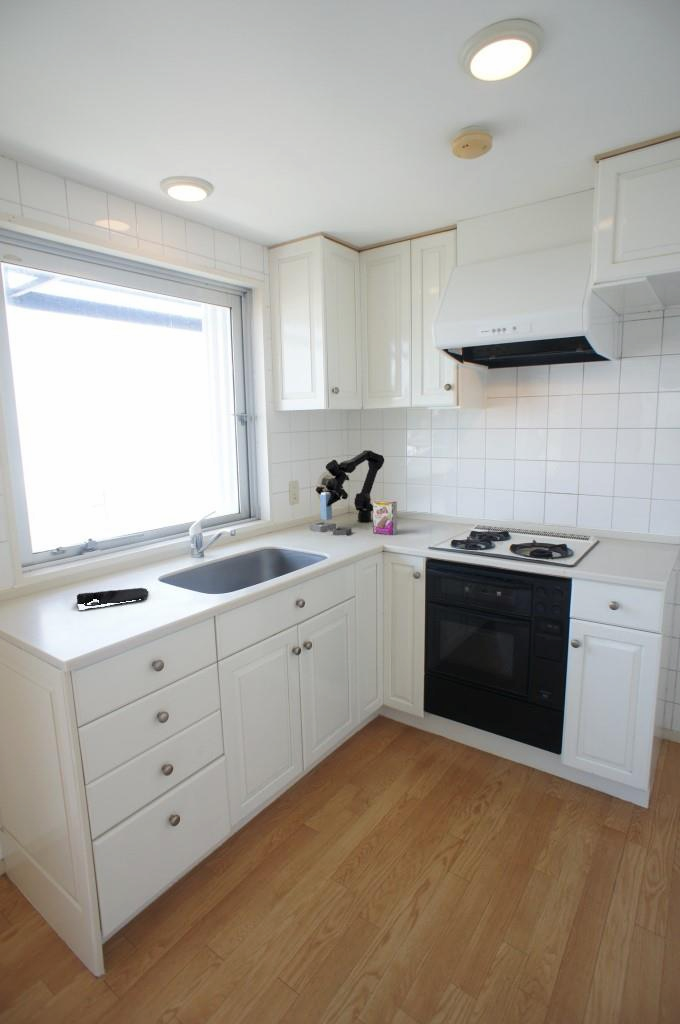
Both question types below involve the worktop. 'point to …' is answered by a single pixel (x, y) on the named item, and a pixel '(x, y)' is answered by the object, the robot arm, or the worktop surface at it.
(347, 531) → the holster
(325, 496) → the light blue tall block
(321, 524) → the port
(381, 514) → the candy bar box
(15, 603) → the worktop surface
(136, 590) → the dark slate chunk
